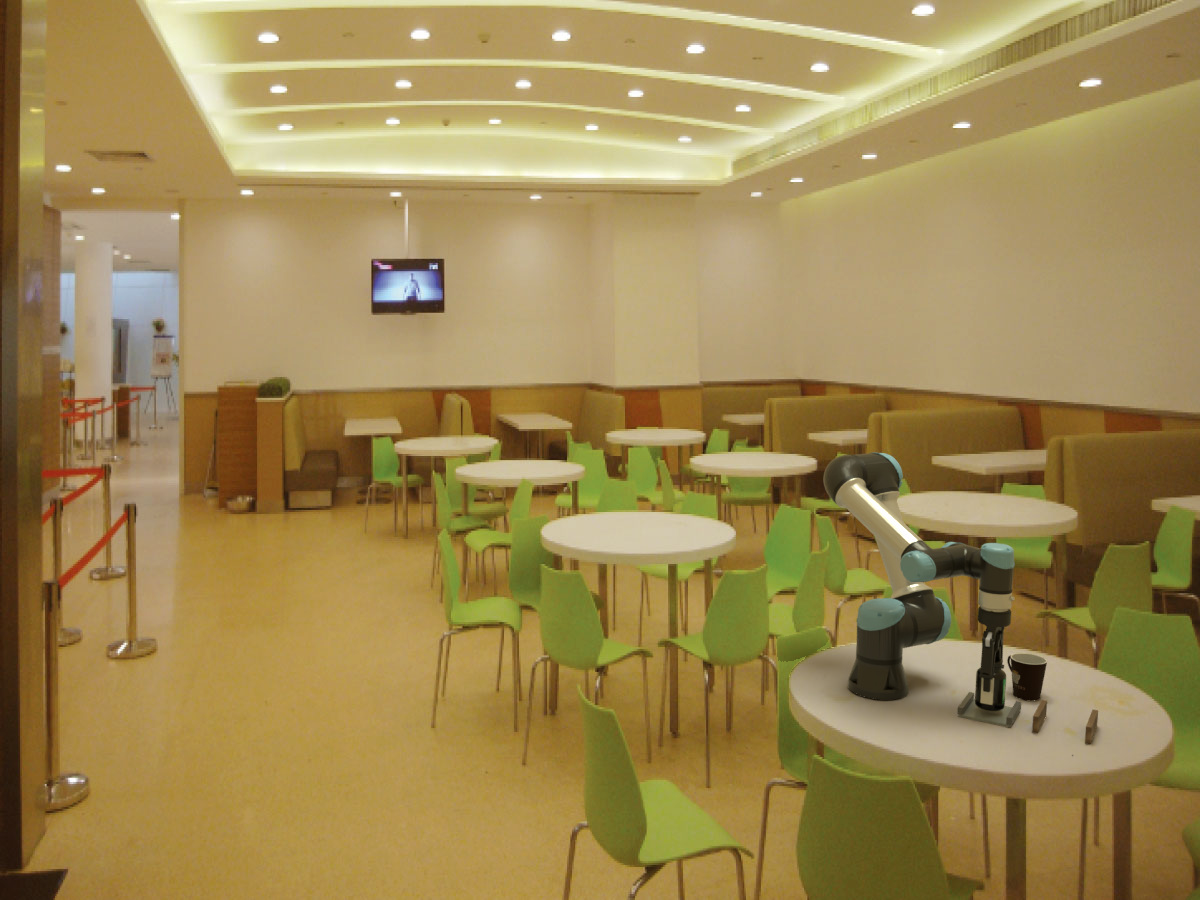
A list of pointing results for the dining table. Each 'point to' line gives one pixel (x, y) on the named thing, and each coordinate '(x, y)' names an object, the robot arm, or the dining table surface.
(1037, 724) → the walnut cradle
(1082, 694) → the dining table surface
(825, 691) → the dining table surface
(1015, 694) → the coffee mug
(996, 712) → the slate pad
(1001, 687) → the supplement bottle
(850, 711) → the dining table surface
